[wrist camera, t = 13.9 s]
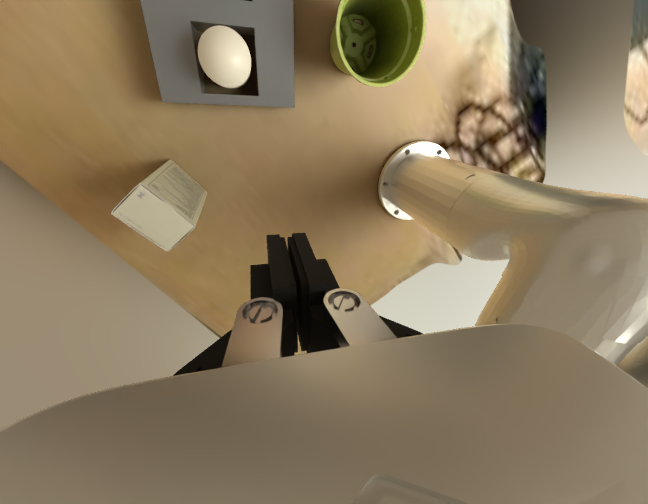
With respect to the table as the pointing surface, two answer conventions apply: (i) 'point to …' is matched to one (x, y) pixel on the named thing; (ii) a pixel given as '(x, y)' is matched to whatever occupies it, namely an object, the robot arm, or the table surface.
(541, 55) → the table surface
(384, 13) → the plant pot
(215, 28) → the cream white egg
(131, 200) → the skincare box
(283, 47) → the grey egg holder
